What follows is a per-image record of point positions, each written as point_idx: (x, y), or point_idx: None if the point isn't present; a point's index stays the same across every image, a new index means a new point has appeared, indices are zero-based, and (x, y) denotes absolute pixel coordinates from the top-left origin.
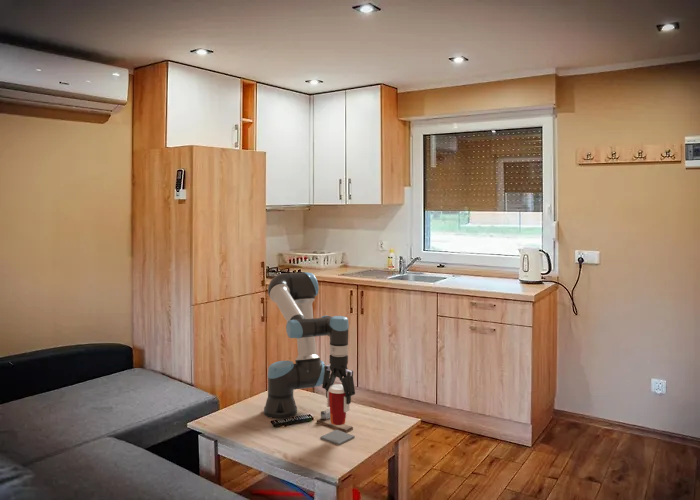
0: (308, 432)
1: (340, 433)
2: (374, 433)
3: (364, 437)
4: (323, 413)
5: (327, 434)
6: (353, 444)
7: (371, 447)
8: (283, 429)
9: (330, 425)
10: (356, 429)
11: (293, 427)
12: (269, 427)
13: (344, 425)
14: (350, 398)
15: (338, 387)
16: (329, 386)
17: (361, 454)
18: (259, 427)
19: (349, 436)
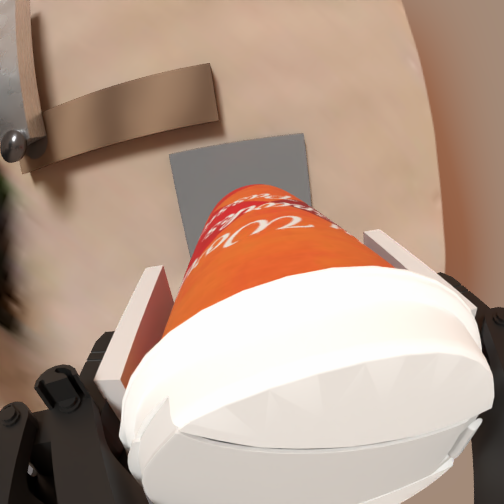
0: (104, 271)
1: (226, 169)
2: (325, 23)
3: (329, 92)
4: (22, 154)
5: (192, 232)
6: (350, 192)
7: (419, 156)
8: (40, 325)
9: (104, 146)
10: (222, 49)
11: (35, 287)
12: (14, 345)
13: (161, 88)
14: (478, 304)
15: (352, 492)
16: (141, 497)
17: (426, 235)
18: (9, 363)
19: (289, 158)
